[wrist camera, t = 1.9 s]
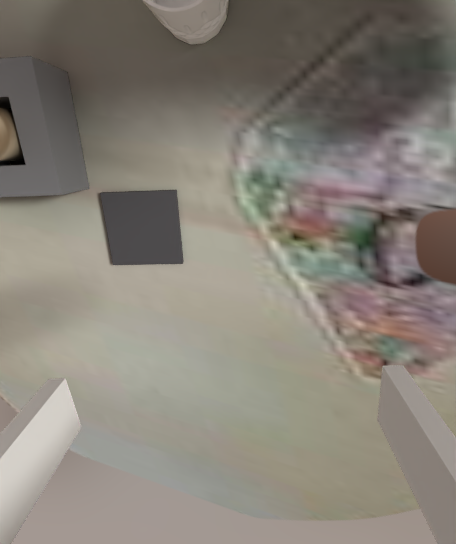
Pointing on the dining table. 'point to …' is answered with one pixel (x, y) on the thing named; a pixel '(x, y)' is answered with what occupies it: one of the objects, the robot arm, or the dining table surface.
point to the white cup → (190, 17)
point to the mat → (143, 227)
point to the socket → (41, 130)
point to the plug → (9, 137)
